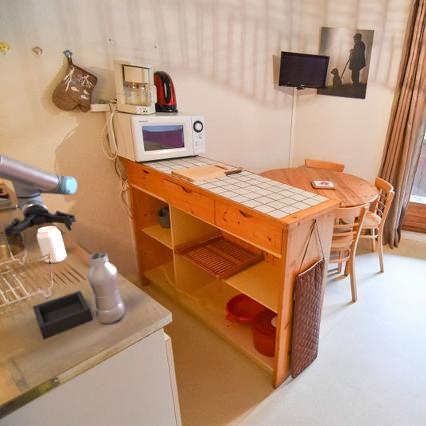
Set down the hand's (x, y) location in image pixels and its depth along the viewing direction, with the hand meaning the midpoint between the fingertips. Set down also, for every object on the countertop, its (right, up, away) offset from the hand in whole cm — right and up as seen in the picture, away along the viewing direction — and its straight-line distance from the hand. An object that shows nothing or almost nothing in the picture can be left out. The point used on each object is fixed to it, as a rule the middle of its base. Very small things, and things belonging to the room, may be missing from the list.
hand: (46, 232), depth 113 cm
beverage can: (+6, -10, -2) cm, 11 cm away
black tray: (+29, -22, -27) cm, 45 cm away
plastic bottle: (+41, -22, -25) cm, 53 cm away
